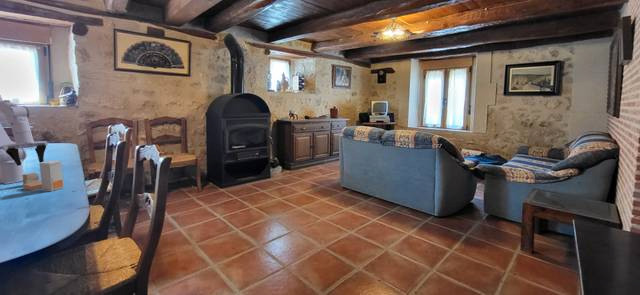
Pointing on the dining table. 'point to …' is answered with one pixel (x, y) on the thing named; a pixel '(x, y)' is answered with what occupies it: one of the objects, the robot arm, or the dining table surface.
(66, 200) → the dining table surface
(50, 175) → the skincare box
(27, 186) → the terracotta base
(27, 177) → the ash block
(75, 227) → the dining table surface
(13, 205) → the dining table surface
